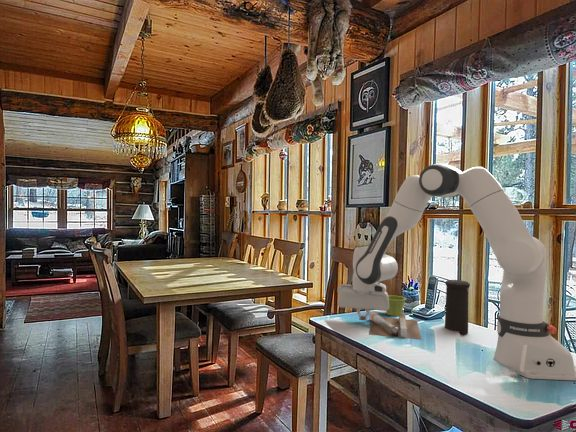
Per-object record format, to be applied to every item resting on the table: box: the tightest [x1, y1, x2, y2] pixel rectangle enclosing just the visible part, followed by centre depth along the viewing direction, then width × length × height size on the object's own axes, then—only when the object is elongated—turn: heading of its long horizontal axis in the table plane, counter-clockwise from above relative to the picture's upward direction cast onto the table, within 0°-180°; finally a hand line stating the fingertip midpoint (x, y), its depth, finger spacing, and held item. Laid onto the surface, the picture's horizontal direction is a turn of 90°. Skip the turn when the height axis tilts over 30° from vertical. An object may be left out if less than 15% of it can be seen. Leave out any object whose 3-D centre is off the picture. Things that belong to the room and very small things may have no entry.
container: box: [444, 279, 471, 336], centre depth 147 cm, size 9×9×20 cm
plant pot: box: [385, 295, 407, 317], centre depth 167 cm, size 9×9×9 cm
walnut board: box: [368, 316, 422, 341], centre depth 147 cm, size 18×25×2 cm
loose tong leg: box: [369, 312, 398, 336], centre depth 146 cm, size 2×22×3 cm, turn 10°
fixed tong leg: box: [398, 313, 408, 339], centre depth 145 cm, size 2×22×3 cm, turn 165°
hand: (363, 319), depth 153 cm, fingers closed
